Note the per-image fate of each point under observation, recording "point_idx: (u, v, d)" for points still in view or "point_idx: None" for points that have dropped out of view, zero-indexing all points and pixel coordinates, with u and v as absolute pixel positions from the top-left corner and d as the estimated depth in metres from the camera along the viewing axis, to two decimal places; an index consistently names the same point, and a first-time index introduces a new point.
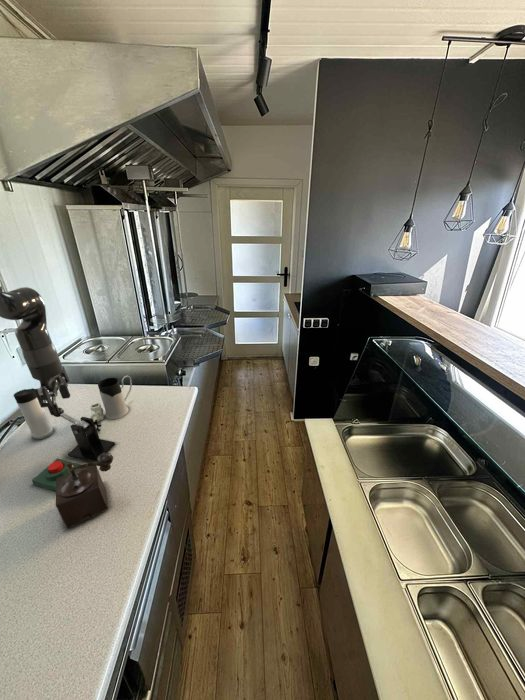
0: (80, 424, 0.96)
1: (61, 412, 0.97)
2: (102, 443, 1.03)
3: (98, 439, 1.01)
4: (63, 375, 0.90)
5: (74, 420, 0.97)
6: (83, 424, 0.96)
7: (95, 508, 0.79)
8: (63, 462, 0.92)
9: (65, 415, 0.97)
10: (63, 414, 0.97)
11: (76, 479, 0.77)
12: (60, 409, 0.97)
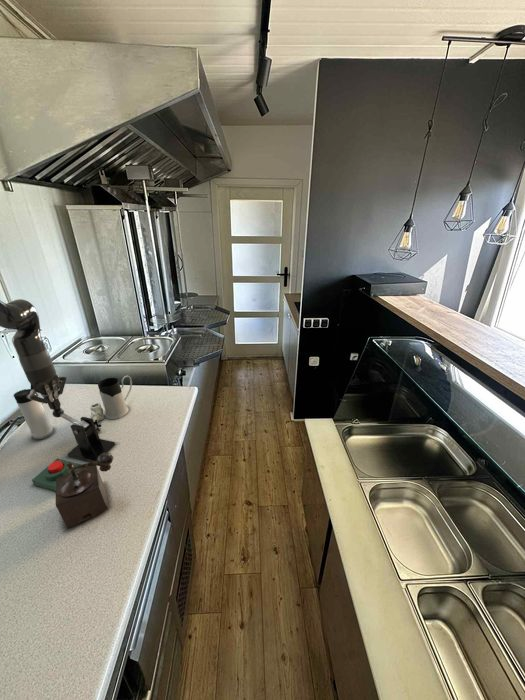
0: (80, 424, 0.96)
1: (61, 412, 0.97)
2: (102, 443, 1.03)
3: (98, 439, 1.01)
4: (60, 385, 0.97)
5: (74, 420, 0.97)
6: (83, 424, 0.96)
7: (95, 508, 0.79)
8: (63, 462, 0.92)
9: (65, 415, 0.97)
10: (63, 414, 0.97)
11: (76, 479, 0.77)
12: (60, 409, 0.97)
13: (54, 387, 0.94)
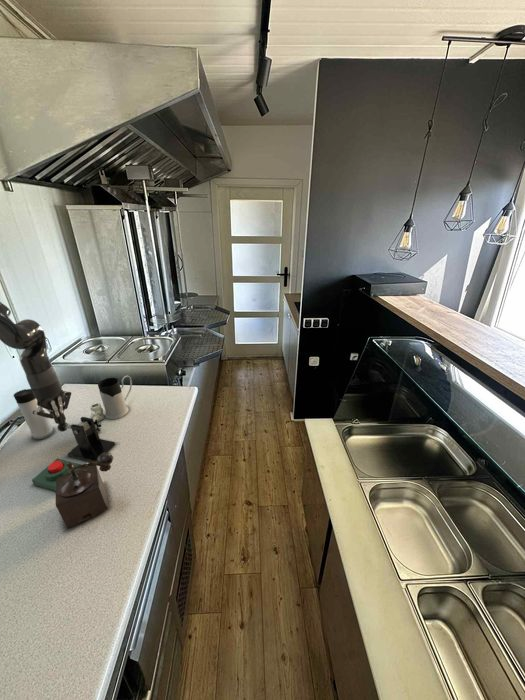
0: (78, 424, 0.96)
1: (64, 424, 1.00)
2: (102, 443, 1.03)
3: (98, 439, 1.01)
4: (65, 400, 1.00)
5: None
6: (82, 423, 0.97)
7: (95, 508, 0.79)
8: (63, 462, 0.92)
9: (67, 425, 0.99)
10: (66, 425, 0.99)
11: (76, 479, 0.77)
12: None
13: (60, 402, 0.97)
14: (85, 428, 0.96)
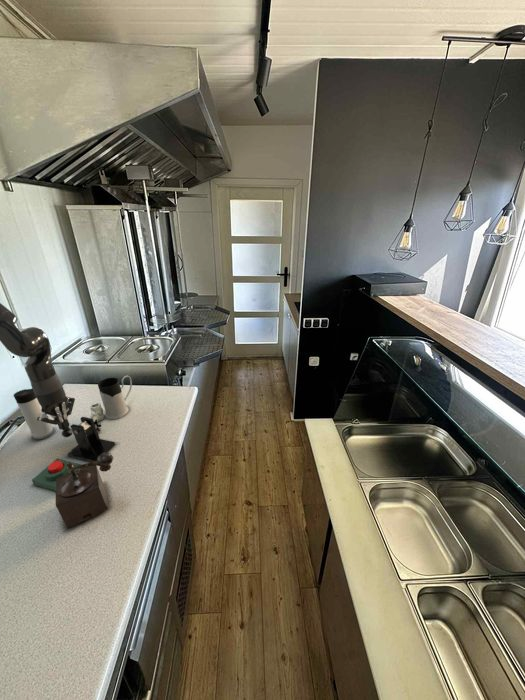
0: None
1: (67, 430, 1.00)
2: (102, 443, 1.03)
3: (98, 439, 1.01)
4: (69, 406, 1.00)
5: None
6: (81, 423, 0.97)
7: (95, 508, 0.79)
8: (63, 462, 0.92)
9: (70, 429, 1.00)
10: (69, 430, 1.00)
11: (76, 479, 0.77)
12: None
13: (63, 408, 0.98)
14: (85, 427, 0.96)
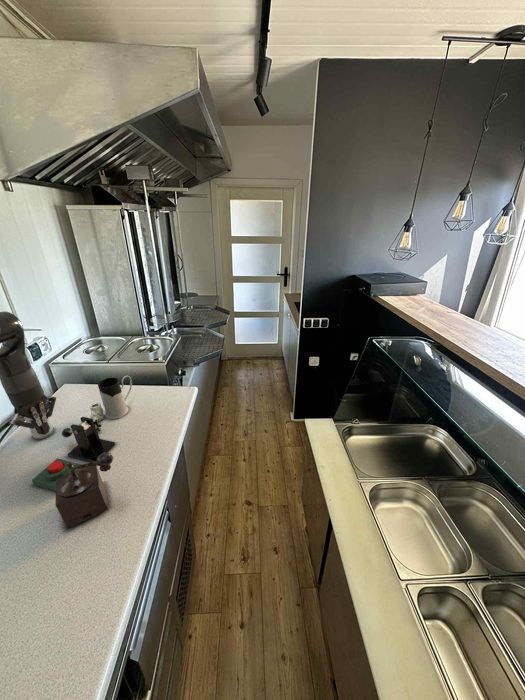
0: None
1: (67, 430, 1.00)
2: (102, 443, 1.03)
3: (98, 439, 1.01)
4: (49, 406, 0.86)
5: None
6: (81, 423, 0.97)
7: (95, 508, 0.79)
8: (63, 462, 0.92)
9: (70, 429, 1.00)
10: (69, 430, 1.00)
11: (76, 479, 0.77)
12: (66, 428, 1.01)
13: (42, 409, 0.83)
14: (85, 427, 0.96)
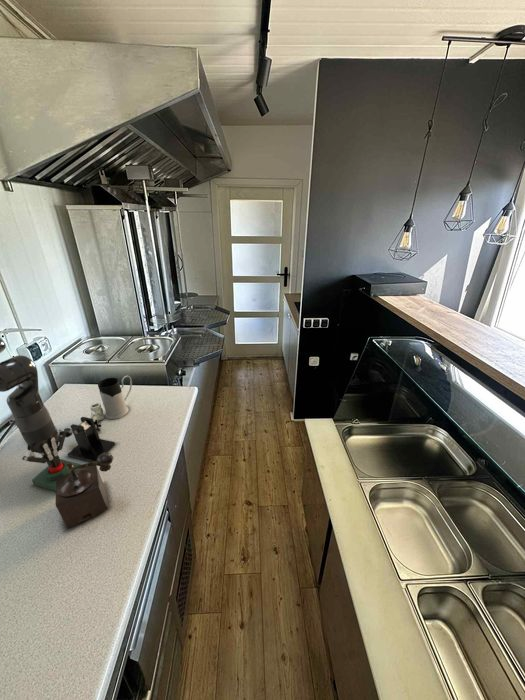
0: None
1: (67, 430, 1.00)
2: (102, 443, 1.03)
3: (98, 439, 1.01)
4: (59, 440, 0.89)
5: None
6: (81, 423, 0.97)
7: (95, 508, 0.79)
8: (63, 462, 0.92)
9: (70, 429, 1.00)
10: (69, 430, 1.00)
11: (76, 479, 0.77)
12: (66, 428, 1.01)
13: (53, 444, 0.86)
14: (85, 427, 0.96)
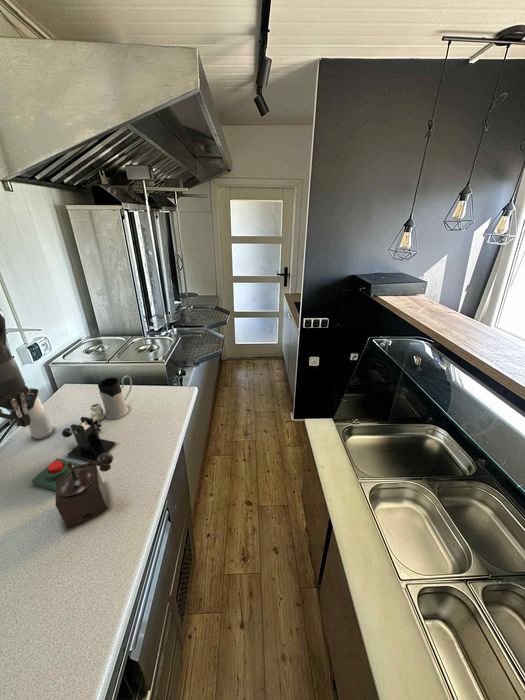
0: None
1: (67, 430, 1.00)
2: (102, 443, 1.03)
3: (98, 439, 1.01)
4: (30, 398, 0.85)
5: None
6: (81, 423, 0.97)
7: (95, 508, 0.79)
8: (63, 462, 0.92)
9: (70, 429, 1.00)
10: (69, 430, 1.00)
11: (76, 479, 0.77)
12: (66, 428, 1.01)
13: (23, 401, 0.82)
14: (85, 427, 0.96)
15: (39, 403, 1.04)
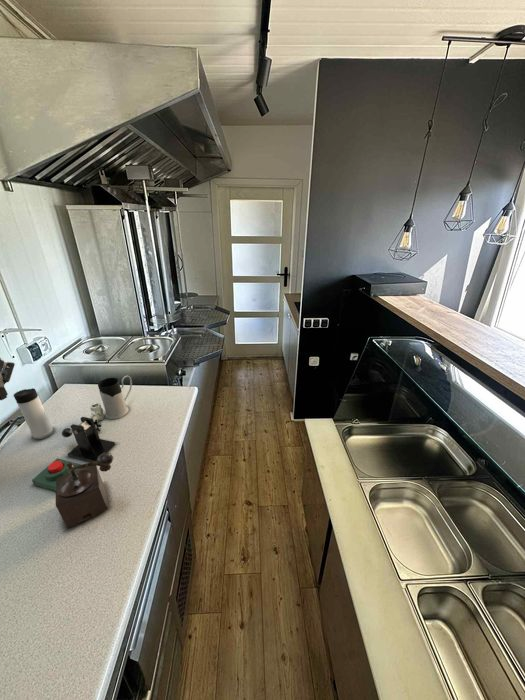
0: None
1: (67, 430, 1.00)
2: (102, 443, 1.03)
3: (98, 439, 1.01)
4: (6, 371, 0.85)
5: None
6: (81, 423, 0.97)
7: (95, 508, 0.79)
8: (63, 462, 0.92)
9: (70, 429, 1.00)
10: (69, 430, 1.00)
11: (76, 479, 0.77)
12: (66, 428, 1.01)
13: None
14: (85, 427, 0.96)
15: (39, 403, 1.04)
